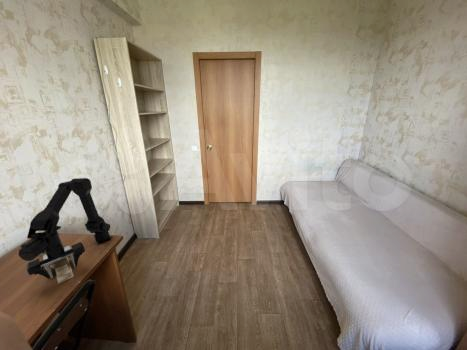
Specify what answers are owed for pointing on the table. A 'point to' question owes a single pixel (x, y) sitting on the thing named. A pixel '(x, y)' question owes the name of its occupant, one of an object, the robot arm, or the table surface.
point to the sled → (63, 270)
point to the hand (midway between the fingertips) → (63, 272)
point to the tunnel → (56, 261)
